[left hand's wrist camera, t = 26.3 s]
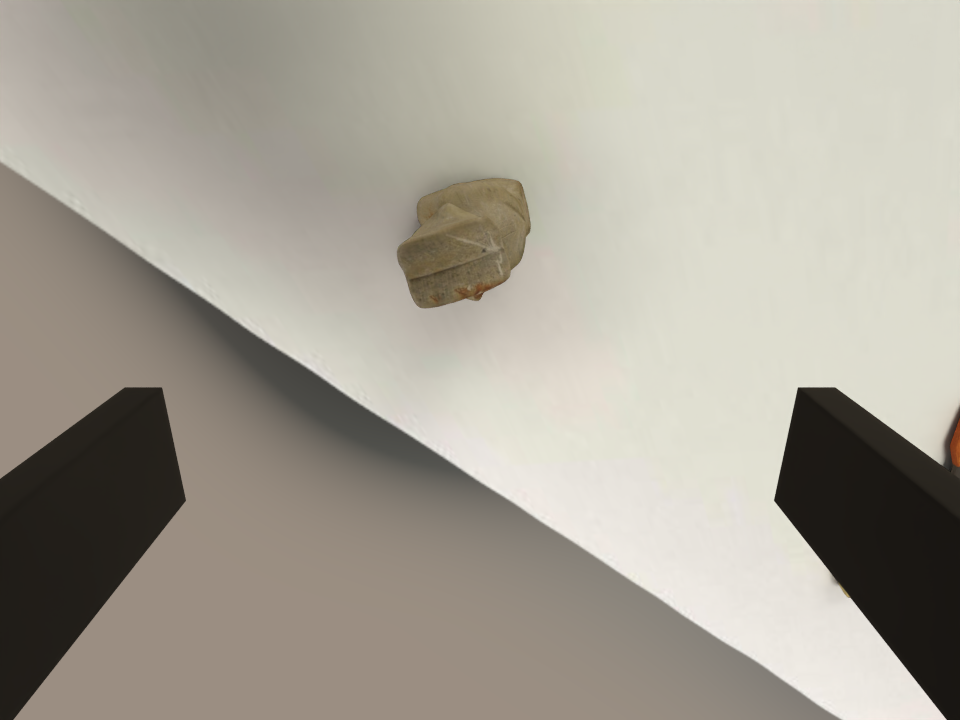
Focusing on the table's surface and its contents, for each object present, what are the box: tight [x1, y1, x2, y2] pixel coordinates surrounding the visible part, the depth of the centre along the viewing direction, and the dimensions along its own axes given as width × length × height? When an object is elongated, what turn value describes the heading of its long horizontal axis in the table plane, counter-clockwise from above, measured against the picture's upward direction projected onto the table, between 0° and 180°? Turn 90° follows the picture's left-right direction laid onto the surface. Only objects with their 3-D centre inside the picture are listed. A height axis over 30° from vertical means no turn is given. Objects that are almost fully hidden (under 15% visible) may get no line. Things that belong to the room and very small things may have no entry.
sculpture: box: [397, 178, 531, 308], centre depth 34 cm, size 6×7×15 cm
